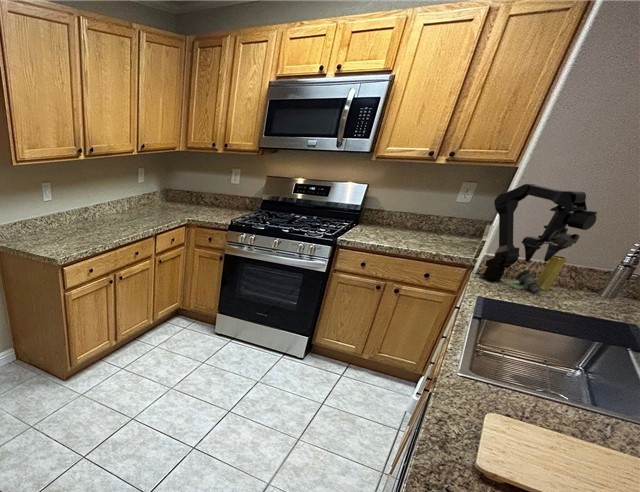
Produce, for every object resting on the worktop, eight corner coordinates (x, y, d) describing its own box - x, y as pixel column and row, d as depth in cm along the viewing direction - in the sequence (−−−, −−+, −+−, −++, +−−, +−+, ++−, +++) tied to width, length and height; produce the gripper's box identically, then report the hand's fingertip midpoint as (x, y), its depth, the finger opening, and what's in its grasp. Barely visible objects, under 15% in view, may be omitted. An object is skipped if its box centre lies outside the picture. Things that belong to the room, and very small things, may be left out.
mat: (502, 283, 195) (502, 281, 194) (517, 282, 196) (518, 280, 196) (518, 289, 188) (519, 287, 188) (534, 288, 190) (535, 286, 189)
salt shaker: (533, 270, 188) (551, 287, 181) (521, 280, 193) (538, 298, 186) (523, 269, 187) (540, 286, 180) (511, 279, 192) (527, 296, 185)
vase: (531, 284, 194) (550, 254, 186) (548, 287, 191) (567, 256, 183) (533, 288, 190) (551, 257, 182) (550, 291, 187) (569, 260, 179)
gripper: (557, 228, 163) (534, 267, 172) (597, 229, 166) (573, 267, 174) (531, 222, 173) (511, 259, 181) (569, 222, 175) (547, 259, 183)
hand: (536, 261), depth 180 cm, fingers open, 9 cm apart
